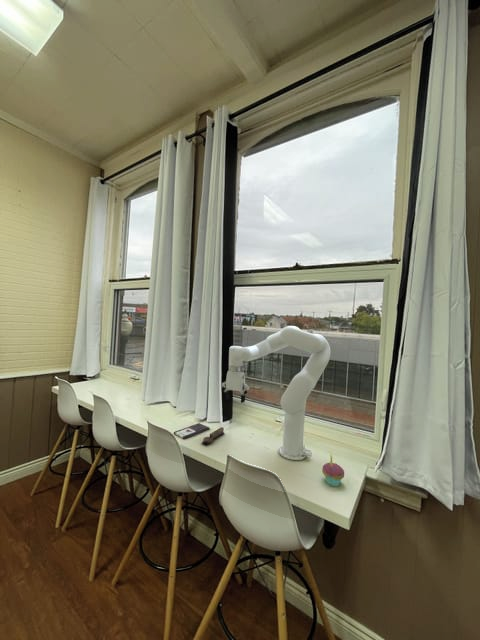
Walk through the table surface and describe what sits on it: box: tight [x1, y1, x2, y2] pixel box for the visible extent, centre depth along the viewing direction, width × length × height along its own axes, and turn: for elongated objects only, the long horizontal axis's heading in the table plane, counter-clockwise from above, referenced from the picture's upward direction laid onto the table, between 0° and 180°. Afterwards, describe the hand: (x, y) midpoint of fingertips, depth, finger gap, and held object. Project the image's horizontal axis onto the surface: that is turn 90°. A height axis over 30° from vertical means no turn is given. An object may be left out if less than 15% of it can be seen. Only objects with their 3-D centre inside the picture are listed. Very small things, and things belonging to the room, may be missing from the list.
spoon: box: [202, 426, 225, 444], centre depth 140 cm, size 16×5×3 cm, turn 150°
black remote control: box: [201, 432, 225, 447], centre depth 140 cm, size 17×3×1 cm, turn 150°
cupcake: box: [321, 454, 345, 487], centre depth 107 cm, size 9×8×12 cm
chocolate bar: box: [173, 422, 210, 440], centre depth 147 cm, size 9×1×18 cm
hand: (234, 400), depth 142 cm, fingers open, 9 cm apart
